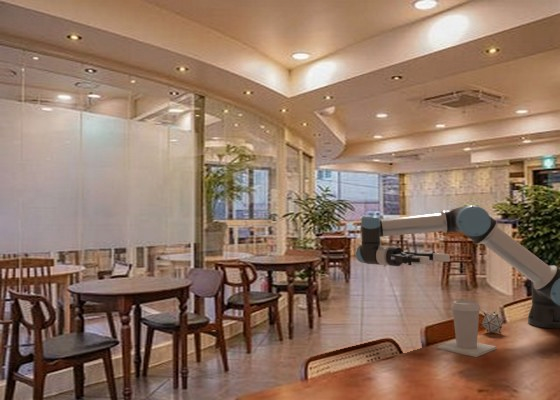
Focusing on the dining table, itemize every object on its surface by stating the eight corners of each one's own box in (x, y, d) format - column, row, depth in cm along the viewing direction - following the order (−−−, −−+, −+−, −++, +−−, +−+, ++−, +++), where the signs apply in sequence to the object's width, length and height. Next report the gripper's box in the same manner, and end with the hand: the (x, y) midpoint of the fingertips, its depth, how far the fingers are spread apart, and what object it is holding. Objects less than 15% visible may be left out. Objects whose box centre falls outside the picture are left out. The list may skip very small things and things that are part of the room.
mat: (458, 341, 177) (458, 338, 177) (496, 348, 166) (496, 346, 166) (437, 348, 168) (437, 346, 168) (476, 357, 157) (476, 354, 157)
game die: (498, 343, 186) (509, 326, 181) (475, 335, 188) (486, 317, 182) (497, 327, 194) (508, 310, 188) (476, 319, 195) (486, 302, 190)
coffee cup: (476, 342, 172) (475, 300, 172) (485, 350, 162) (484, 305, 162) (448, 342, 172) (447, 299, 173) (456, 350, 163) (454, 304, 163)
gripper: (409, 263, 200) (457, 266, 183) (370, 268, 183) (419, 272, 167) (409, 244, 200) (457, 247, 184) (370, 248, 184) (419, 251, 167)
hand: (439, 259), depth 175 cm, fingers open, 13 cm apart
